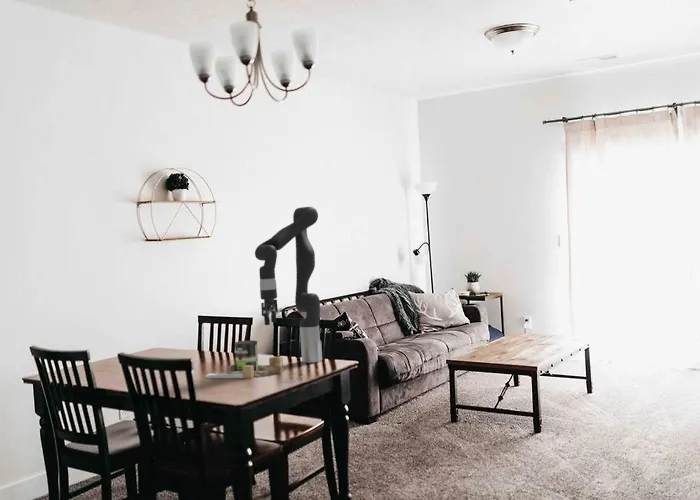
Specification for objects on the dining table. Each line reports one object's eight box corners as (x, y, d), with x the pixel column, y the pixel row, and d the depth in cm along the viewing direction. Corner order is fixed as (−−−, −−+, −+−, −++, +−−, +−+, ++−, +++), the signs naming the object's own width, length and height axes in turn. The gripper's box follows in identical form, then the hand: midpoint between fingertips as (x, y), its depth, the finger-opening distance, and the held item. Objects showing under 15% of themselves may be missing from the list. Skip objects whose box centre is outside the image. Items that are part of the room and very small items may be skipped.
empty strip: (254, 376, 295) (253, 365, 295) (251, 378, 292) (250, 366, 292) (209, 376, 301) (208, 365, 301) (205, 377, 297) (205, 366, 297)
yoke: (288, 369, 308) (287, 354, 307) (275, 376, 293) (274, 360, 293) (241, 369, 314) (241, 354, 314) (227, 376, 299) (226, 360, 299)
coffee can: (250, 375, 298) (248, 344, 298) (231, 374, 302) (229, 343, 302) (263, 370, 307) (261, 340, 307) (245, 370, 312) (243, 340, 311)
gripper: (270, 289, 298) (272, 325, 299) (281, 286, 312) (283, 321, 312) (254, 290, 300) (257, 326, 300) (266, 287, 314) (268, 321, 314)
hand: (270, 323), depth 306 cm, fingers open, 8 cm apart
